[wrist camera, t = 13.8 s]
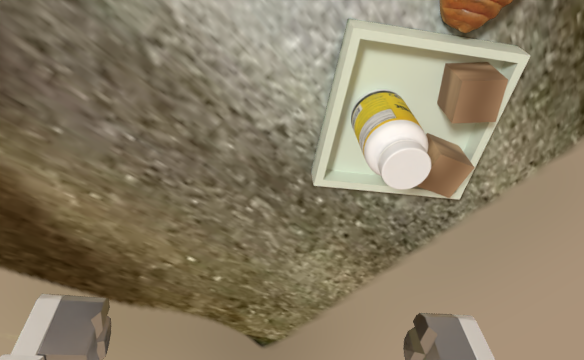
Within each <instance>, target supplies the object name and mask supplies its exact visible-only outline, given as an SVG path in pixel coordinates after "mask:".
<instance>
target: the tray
mask: <svg viewBox="0 0 584 360" xmlns="http://www.w3.org/2000/svg"><path fill="white" fill-rule="evenodd" d="M529 58H530V55H529V54H528V53H526V52H525V51H523V50H522V49H521V48H519V47H518V46H516V45H510V44H503V43H497V42H491V41H485V40H478V39H472V38H466V37H460V36H454V35H447V34H441V33H435V32H429V31H422V30H416V29H410V28H404V27H398V26H391V25H385V24H379V23H373V22H366V21H360V20H354V19H348V21H347V25H346V29H345V33H344V37H343V41H342V46H341V50H340V54H339V58H338V62H337V66H336V70H335V74H334V79H333V83H332V87H331V91H330V95H329V99H328V103H327V108H326V112H325V116H324V120H323V124H322V128H321V132H320V137H319V141H318V145H317V149H316V153H315V157H314V161H313V166H312V170H311V174H312V179H313V184H314V186H324V187H334V188H345V189H355V190H366V191H376V192H386V193H397V194H407V195H418V196H428V197H439V198H448V197H445V196H442V195H440V194H437V193H434V192H431V191H428V190H426V189H423V188H420V187H417V186H415V187H413V188H410V189H404V190H400V189H394V188H392V187H390V186H388V185H387V184H386V183H385V182H384V180H383V179H382V176H380V175H378V174H376V173H375V172H373V171H372V170H371V169H370V167H369V166H368V164H367V162H366V160H365V158H364V155H363V153H362V150H361V147H360V145H359V143H358V140H357V138H356V135H355V133H354V130H353V128H352V124H351V112H352V109H353V106H354V105H355V103H356V102H357V100H358V99H359V98H360V97H362V96H363V95H364V94H366V93H368V92H370V91H373V90H377V89H387V90H391V91H393V92H395V93H397V94H398V95H399V96H400V97H401V98H402V99H403V100H404V102H405V103H406V105H407V106H408V108H409V109H410V111H411V112H412V114H413V115H414V117H415V118H416V120H417V121H418V123H419V124H420V126H421V127H422V129H423V130H424V133H425V134H427V133H429V134H432V135H434V136H436V137H439V138H441V139H444V140H446V141H449V142H451V143H454V144H456V145H458V146H459V147H460V148H461V149H462V151H463V152H464V153H465V155H466V156H467V158H468V159H469V160H470V162H471V163H472V165H473V166H474V167H476V165H477V163H478V161H479V159H480V157H481V155H482V153H483V151H484V149H485V147H486V145H487V143H488V141H489V139H490V137H491V135H492V133H493V131H494V129H495V127H496V125H497V123H498V121H499V118H500V116H501V114H502V112H503V110H504V108H505V106H506V104H507V102H508V100H509V98H510V96H511V94H512V92H513V90H514V88H515V86H516V84H517V82H518V80H519V78H520V76H521V74H522V72H523V70H524V68H525V66H526V64H527V62H528V60H529ZM474 62H488V63H490V64H491V65H492V66H493V67H494V68H495V69H497V70H498V71H499V72H500V73H501V74H502V75H503V76H505V77H506V78H507V79H508V83H507V86H506V90H505V93H504V96H503V100H502V103H501V106H500V109H499V113H498V116H497V119H496V122H480V123H454V124H452V123H451V121H450V120H449V119H448V117H447V116H446V115H445V113H444V112H443V111H442V109H441V108H440V107H439V105H438V104H437V101H438V96H439V91H440V86H441V82H442V77H443V72H444V67H445V63H474ZM474 169H475V168H474ZM474 169H473V170H472V171H471V173H470V174H469V175H468V176H467V178H466V179H465V180H464V181H463V182H462V184H461V185H460V186H459V187H458V189H457V190H456V191H455V192H454V193H453V195H452V196H451V197H450V198H449V199H459V200H460V198H461V195H462V193H463V191H464V189H465V187H466V185H467V183H468V181H469V179H470V177H471V175H472V173H473V171H474Z"/></svg>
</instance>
